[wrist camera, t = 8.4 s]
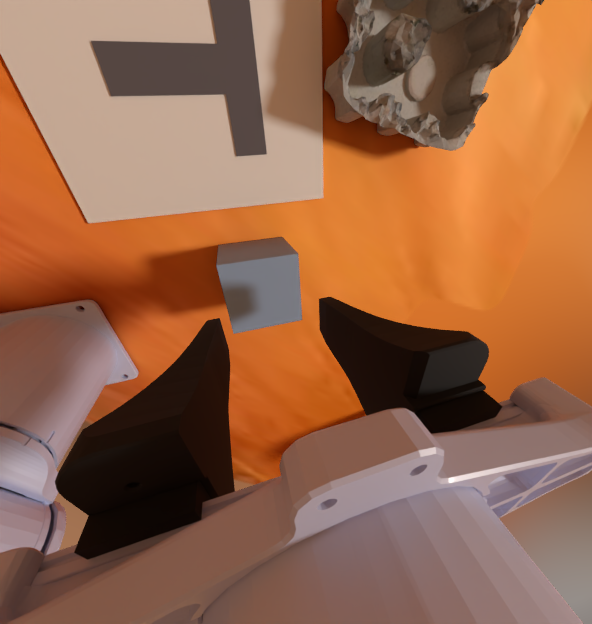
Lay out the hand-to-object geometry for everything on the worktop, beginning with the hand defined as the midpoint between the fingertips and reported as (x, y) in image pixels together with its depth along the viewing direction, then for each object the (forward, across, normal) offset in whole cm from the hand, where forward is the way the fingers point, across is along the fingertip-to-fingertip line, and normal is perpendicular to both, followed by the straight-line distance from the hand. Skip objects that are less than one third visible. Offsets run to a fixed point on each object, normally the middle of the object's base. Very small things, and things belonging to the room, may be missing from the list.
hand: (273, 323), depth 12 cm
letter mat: (+8, +2, -12) cm, 15 cm away
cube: (+8, 0, 0) cm, 8 cm away
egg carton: (+8, -11, -12) cm, 18 cm away
